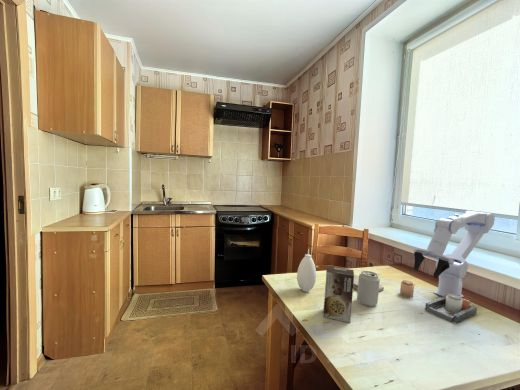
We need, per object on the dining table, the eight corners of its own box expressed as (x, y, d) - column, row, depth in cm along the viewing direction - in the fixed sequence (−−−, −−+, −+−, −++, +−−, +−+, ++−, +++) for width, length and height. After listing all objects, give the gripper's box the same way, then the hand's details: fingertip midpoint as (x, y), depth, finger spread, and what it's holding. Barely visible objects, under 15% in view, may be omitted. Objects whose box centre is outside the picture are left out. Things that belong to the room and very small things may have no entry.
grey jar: (448, 306, 102) (450, 292, 101) (463, 312, 97) (465, 298, 97) (442, 308, 99) (444, 294, 99) (457, 315, 95) (459, 300, 95)
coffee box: (350, 314, 90) (354, 269, 89) (350, 323, 84) (355, 275, 83) (323, 308, 93) (327, 265, 92) (322, 316, 87) (326, 270, 86)
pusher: (448, 303, 104) (449, 292, 104) (470, 311, 98) (471, 300, 97) (445, 304, 103) (446, 293, 103) (467, 312, 97) (469, 301, 96)
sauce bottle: (317, 295, 104) (320, 251, 102) (298, 294, 103) (301, 250, 102) (311, 287, 111) (315, 246, 110) (294, 286, 111) (297, 245, 110)
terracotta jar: (404, 291, 114) (405, 279, 113) (415, 296, 109) (416, 283, 109) (397, 293, 111) (398, 280, 111) (409, 298, 107) (410, 285, 107)
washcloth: (349, 277, 128) (350, 271, 128) (384, 291, 114) (385, 284, 113) (334, 281, 121) (335, 275, 121) (370, 297, 106) (371, 289, 106)
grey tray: (445, 301, 106) (446, 295, 106) (476, 313, 97) (477, 307, 97) (424, 309, 97) (424, 303, 97) (455, 323, 88) (456, 316, 88)
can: (379, 309, 95) (382, 277, 95) (358, 305, 97) (361, 275, 96) (374, 300, 103) (377, 271, 102) (355, 297, 104) (357, 268, 103)
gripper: (416, 235, 111) (403, 263, 108) (454, 245, 98) (440, 277, 96) (422, 242, 114) (410, 269, 112) (460, 253, 102) (447, 283, 99)
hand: (424, 273), depth 104 cm, fingers open, 7 cm apart
